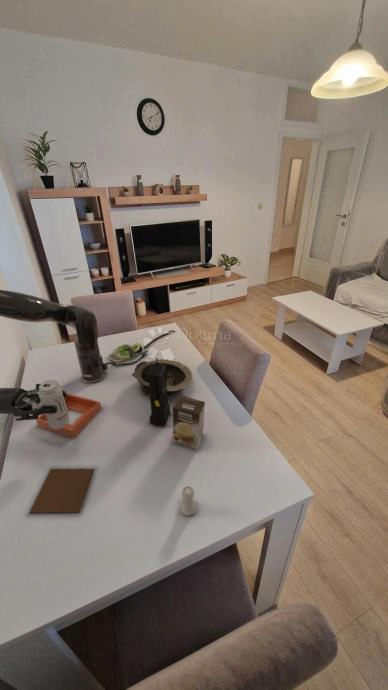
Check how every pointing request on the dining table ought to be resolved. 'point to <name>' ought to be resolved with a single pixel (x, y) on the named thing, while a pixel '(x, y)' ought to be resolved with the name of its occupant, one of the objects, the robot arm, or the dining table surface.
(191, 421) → the coffee box
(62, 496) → the coaster
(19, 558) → the dining table surface
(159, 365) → the portable radio
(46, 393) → the energy drink can
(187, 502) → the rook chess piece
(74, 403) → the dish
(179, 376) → the stone bowl
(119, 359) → the salad plate
